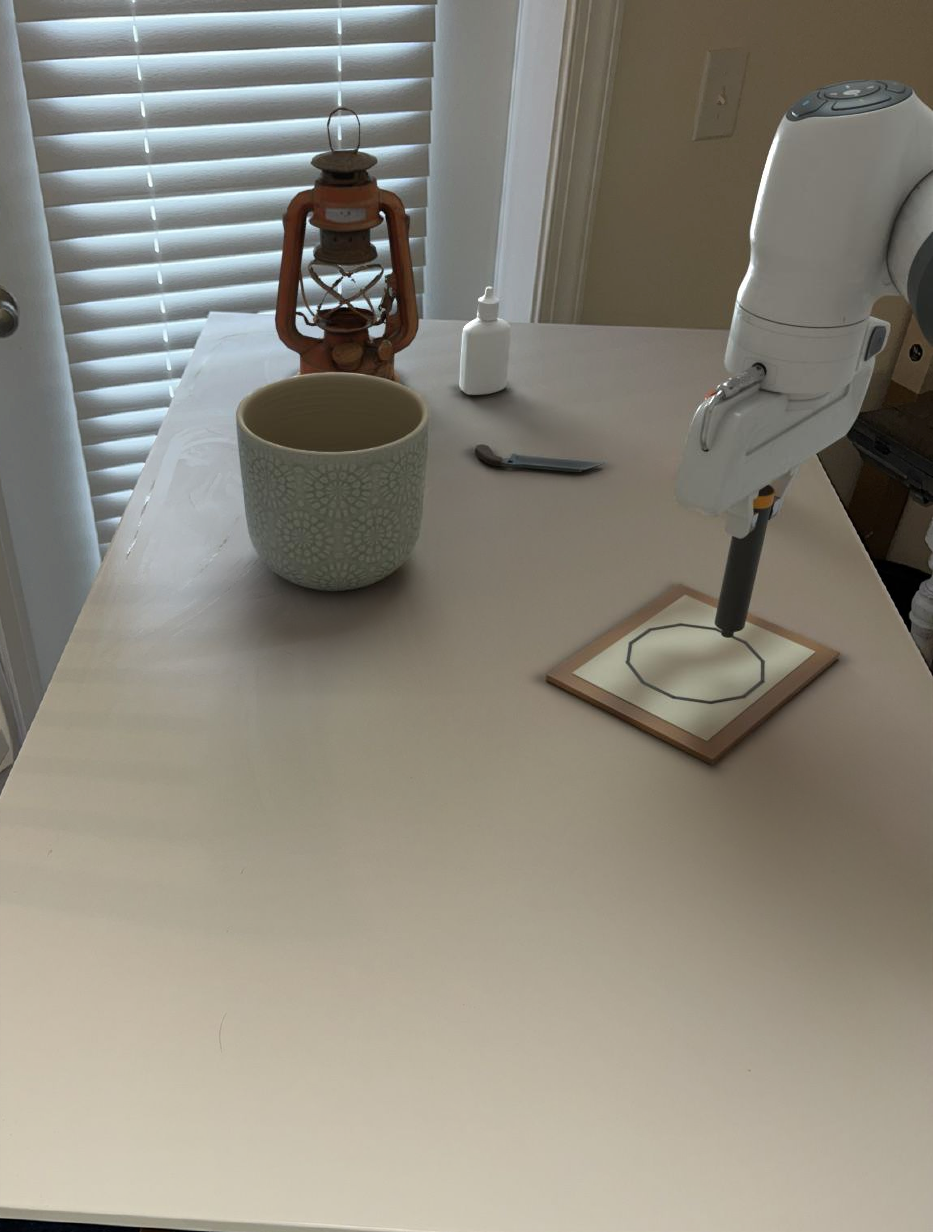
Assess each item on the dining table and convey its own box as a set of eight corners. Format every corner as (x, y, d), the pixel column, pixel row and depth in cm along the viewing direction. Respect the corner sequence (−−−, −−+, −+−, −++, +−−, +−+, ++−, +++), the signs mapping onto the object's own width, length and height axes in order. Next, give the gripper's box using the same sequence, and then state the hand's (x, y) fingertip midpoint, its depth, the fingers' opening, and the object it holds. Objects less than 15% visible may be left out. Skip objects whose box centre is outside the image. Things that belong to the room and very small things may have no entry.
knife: (471, 465, 134) (471, 459, 133) (476, 449, 137) (476, 443, 136) (602, 477, 132) (603, 471, 131) (604, 460, 134) (605, 454, 134)
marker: (748, 634, 102) (781, 489, 94) (732, 646, 100) (764, 500, 92) (722, 623, 103) (752, 478, 95) (705, 635, 102) (734, 489, 94)
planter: (237, 610, 112) (225, 453, 102) (254, 519, 125) (245, 371, 115) (424, 613, 112) (431, 455, 102) (422, 520, 125) (427, 372, 115)
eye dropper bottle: (460, 380, 151) (465, 280, 143) (506, 383, 151) (514, 282, 143) (458, 395, 148) (463, 293, 140) (505, 397, 147) (513, 295, 140)
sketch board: (838, 658, 106) (841, 650, 106) (711, 765, 95) (713, 757, 95) (678, 588, 115) (680, 581, 114) (545, 679, 104) (546, 672, 104)
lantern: (274, 405, 146) (261, 123, 127) (280, 361, 156) (270, 94, 137) (418, 405, 146) (427, 123, 126) (415, 362, 156) (424, 94, 136)
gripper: (754, 404, 79) (713, 591, 88) (903, 320, 90) (853, 493, 99) (670, 376, 82) (639, 559, 91) (823, 298, 94) (782, 468, 103)
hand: (751, 524), depth 95 cm, fingers closed on marker, 2 cm apart
